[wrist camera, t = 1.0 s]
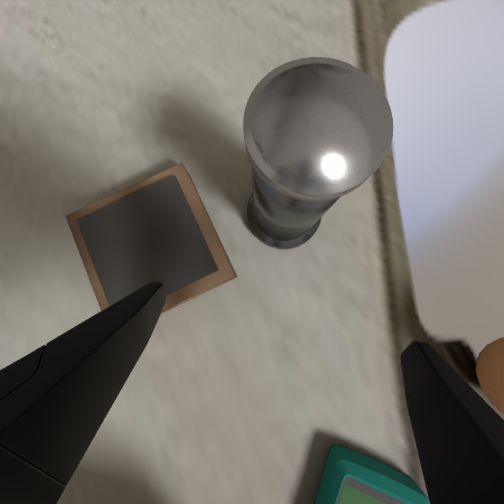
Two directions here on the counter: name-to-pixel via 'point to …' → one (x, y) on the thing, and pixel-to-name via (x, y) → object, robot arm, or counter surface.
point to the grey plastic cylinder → (310, 144)
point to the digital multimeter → (364, 481)
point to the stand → (151, 241)
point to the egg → (492, 372)
